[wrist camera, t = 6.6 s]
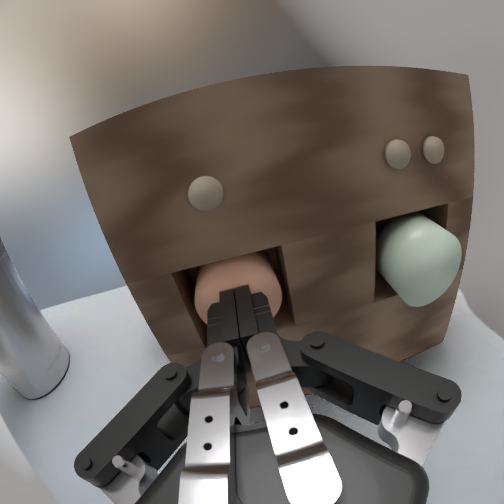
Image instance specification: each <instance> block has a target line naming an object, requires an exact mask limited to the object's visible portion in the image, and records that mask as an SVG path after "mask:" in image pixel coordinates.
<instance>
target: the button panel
mask: <svg viewBox="0 0 504 504" xmlns="http://www.w3.org/2000/svg"><path fill="white" fill-rule="evenodd" d="M70 140H71V144H72V147H73V151H74V154H75V157H76V161H77V164H78V167H79V170H80V173H81V176H82V179H83V182H84V184H85V187H86V190H87V193H88V196H89V198H90V201H91V204H92V206H93V209H94V212H95V214H96V217H97V219H98V222H99V224H100V227H101V229H102V231H103V234H104V236H105V239H106V241H107V243H108V245H109V248H110V250H111V252H112V254H113V256H114V259H115V261H116V263H117V265H118V267H119V270H120V272H121V274H122V276H123V278H124V280H125V282H126V284H127V286H128V288H129V290H130V292H131V294H132V296H133V298H134V300H135V301H136V303H137V305H138V307H139V309H140V311H141V313H142V314H143V316H144V318H145V320H146V322H147V323H148V325H149V327H150V329H151V331H152V332H153V334H154V336H155V337H156V339H157V341H158V343H159V344H160V346H161V348H162V349H163V351H164V352H165V354H166V356H167V357H168V359H169V361H170V362H171V363H180V364H182V365H183V366H184V367H187V366H190V365H192V364H194V363H196V362H198V361H199V360H200V359H201V358H202V353H203V351H204V350H205V349H206V348H207V326H208V325H207V324H206V323H205V322H204V321H203V320H202V319H201V318H200V316H199V315H198V313H197V310H196V307H195V287H196V274H197V266H201V265H205V264H209V263H213V262H217V261H221V260H225V259H229V258H233V257H237V256H241V255H245V254H249V253H253V252H257V251H261V250H265V251H266V252H267V254H268V256H269V258H270V260H271V263H272V266H273V269H274V271H275V274H276V277H277V279H278V282H279V285H280V288H281V291H282V301H281V305H280V308H279V310H278V312H277V314H276V315H275V316H274V318H273V320H274V323H275V327H276V330H277V333H278V335H279V336H280V337H282V338H283V339H285V340H289V341H301V340H302V338H303V337H304V336H305V335H307V334H309V333H311V332H315V331H322V332H326V333H329V334H331V335H334V336H336V337H338V338H341V339H343V340H346V341H348V342H351V343H353V344H355V345H358V346H360V347H363V348H365V349H368V350H370V351H373V352H376V353H378V354H381V355H383V356H386V357H388V358H391V359H394V360H396V361H402V360H404V359H406V358H409V357H411V356H413V355H415V354H417V353H419V352H421V351H424V350H426V349H428V348H430V347H432V346H434V345H436V344H438V343H440V342H442V341H443V339H444V336H445V333H446V330H447V327H448V324H449V321H450V317H451V314H452V310H453V307H454V303H455V300H456V296H457V292H458V288H459V284H460V279H461V275H462V270H463V265H464V260H465V254H466V249H467V243H468V236H469V229H470V222H471V213H472V202H473V188H474V124H473V112H472V101H471V93H470V85H469V78H468V75H465V74H459V73H453V72H445V71H438V70H429V69H420V68H409V67H392V66H341V67H323V68H310V69H300V70H290V71H283V72H275V73H269V74H263V75H257V76H251V77H245V78H240V79H235V80H231V81H226V82H221V83H217V84H213V85H209V86H205V87H201V88H197V89H193V90H190V91H186V92H183V93H180V94H176V95H173V96H170V97H167V98H163V99H160V100H157V101H154V102H151V103H148V104H145V105H143V106H140V107H137V108H135V109H132V110H129V111H127V112H124V113H122V114H119V115H117V116H114V117H112V118H109V119H107V120H105V121H103V122H100V123H98V124H96V125H94V126H91V127H89V128H87V129H85V130H83V131H81V132H79V133H77V134H75V135H73V136H71V137H70ZM411 212H419V213H421V214H422V215H424V216H425V217H427V218H429V219H430V220H432V221H433V222H435V223H436V224H438V225H439V226H441V227H442V228H444V229H445V230H447V231H448V232H450V233H451V234H453V235H454V236H455V237H456V238H457V239H458V240H459V242H460V245H461V251H462V256H461V263H460V267H459V270H458V272H457V274H456V276H455V278H454V280H453V282H452V283H451V285H450V286H449V287H448V289H447V290H446V291H445V292H444V293H443V294H442V295H441V296H440V297H439V298H437V299H436V300H435V301H433V302H431V303H429V304H427V305H424V306H420V307H413V306H410V305H408V304H406V303H405V302H404V301H403V299H402V298H401V297H400V296H399V295H398V294H397V292H396V291H395V290H394V289H393V288H392V287H391V285H390V284H389V283H388V282H387V281H386V280H385V279H384V277H383V276H382V275H381V274H380V273H379V272H378V271H377V269H376V267H375V260H376V240H377V237H378V235H379V234H380V232H381V230H382V229H383V227H384V226H385V225H386V224H387V223H388V222H389V221H390V220H391V219H392V218H393V217H395V216H399V215H403V214H407V213H411ZM250 366H251V365H250ZM246 376H247V384H248V389H249V408H253V407H258V406H261V403H260V399H259V395H258V392H257V388H256V381H255V377H254V373H253V370H252V368H251V372H248V373H246ZM301 389H302V391H303V394H304V395H307V394H310V393H312V392H310V391H309V390H308V389H307V388H306V387H301Z"/></svg>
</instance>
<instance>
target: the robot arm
mask: <svg viewBox="0 0 504 504" xmlns="http://www.w3.org/2000/svg"><path fill="white" fill-rule="evenodd" d="M234 289H235V291H234ZM219 301H220V302H216V303H212V304H211V305H210V307H209V309H208V311H207V319H208V320H207V325H208V326H207V348H206V349H205V350H204V351H203V353H202V358H201V359H200V360H199V361H198V362H196V363H194V364H192V365H190V366H187V367H184V366H183V365H182V364H180V363H170V364H167V365H165V366H163V367H162V368H161V369H160V370H159V371H158V372H157V373H156V374H155V375H154V376H153V377H152V378H151V379H150V381H149V382H148V383H147V384H146V385H145V386H144V387H143V388H142V389H141V390H140V391H139V392H138V393H137V394H136V395H135V396H134V397H133V398H132V399H131V400H130V402H129V403H128V404H127V405H126V406H125V407H124V408H123V409H122V410H121V411H120V412H119V413H118V414H117V415H116V416H115V417H114V418H113V419H112V420H111V421H110V422H109V423H108V424H107V425H106V427H105V428H104V429H103V430H102V431H101V432H100V433H99V434H98V435H97V436H96V437H95V438H94V439H93V440H92V441H91V442H90V443H89V444H88V445H87V446H86V447H85V448H84V449H83V450H82V451H81V452H80V453H79V454H78V455H77V457H76V459H75V462H74V468H75V471H76V473H77V475H78V476H79V477H81V478H83V479H84V480H86V481H88V482H90V483H91V484H92V485H94V486H96V487H98V488H100V489H101V490H102V491H103V492H104V493H105V494H106V495H107V496H108V497H109V498H110V500H111V501H112V502H113V503H114V504H426V501H427V496H428V492H429V480H428V476H427V474H426V472H425V470H424V469H423V467H422V465H423V463H424V461H425V459H426V457H427V456H428V454H429V452H430V450H431V448H432V446H433V444H434V442H435V440H436V438H437V436H438V434H439V432H440V430H441V428H442V427H443V426H444V425H445V423H446V422H447V420H448V419H449V418H450V416H451V415H452V414H453V412H454V411H455V409H456V408H457V406H458V405H459V403H460V401H461V390H460V388H459V386H458V385H457V384H456V383H455V382H453V381H451V380H448V379H446V378H443V377H440V376H437V375H434V374H431V373H429V372H426V371H423V370H420V369H418V368H415V367H412V366H409V365H407V364H404V363H401V362H399V361H396V360H394V359H391V358H388V357H386V356H383V355H381V354H378V353H376V352H373V351H370V350H368V349H365V348H363V347H360V346H358V345H355V344H353V343H351V342H348V341H346V340H343V339H341V338H338V337H336V336H334V335H331V334H329V333H326V332H322V331H315V332H311V333H309V334H307V335H305V336H304V337H303V338H302V340H301V341H289V340H285V339H283V338H282V337H280V336H279V335H278V333H277V330H276V327H275V323H274V320H273V316H272V312H271V309H270V305H269V302H268V298H267V296H266V295H264V294H263V293H262V292H258V293H254V294H251V291H250V288H249V284H248V285H244V286H240V287H236V288H232V289H228V290H224V291H220V292H219ZM68 364H69V353H68V351H67V349H66V348H65V347H64V345H63V344H62V343H61V341H60V340H59V338H58V337H57V336H56V334H55V333H54V331H53V330H52V329H51V327H50V325H49V324H48V322H47V321H46V319H45V318H44V316H43V315H42V313H41V312H40V310H39V309H38V307H37V306H36V304H35V302H34V301H33V299H32V298H31V296H30V294H29V293H28V291H27V289H26V287H25V285H24V284H23V282H22V280H21V279H20V276H19V275H18V273H17V271H16V269H15V267H14V265H13V263H12V261H11V259H10V257H9V255H8V253H7V251H6V250H5V247H4V245H3V242H2V240H1V238H0V373H1V374H2V375H3V376H4V377H5V378H6V379H7V381H8V382H9V383H10V384H11V385H12V386H13V387H14V388H15V389H17V390H18V391H19V392H20V394H21V395H23V396H24V397H25V398H28V399H36V398H39V397H42V396H44V395H45V394H47V393H49V392H50V391H51V390H52V389H53V388H54V387H55V386H56V385H57V384H58V383H59V382H60V380H61V379H62V377H63V376H64V374H65V372H66V370H67V367H68ZM250 365H251V366H250ZM251 368H252V370H253V373H254V377H255V381H256V388H257V392H258V395H259V399H260V403H261V406H262V410H263V413H264V417H265V420H263V421H260V422H258V423H256V424H253V425H251V422H250V408H249V389H248V384H247V376H246V373H248V372H251ZM301 387H306V388H307V389H308V390H309V391H310V392H312V393H314V394H316V395H318V396H320V397H321V398H323V399H325V400H327V401H329V402H331V403H333V404H335V405H337V406H339V407H341V408H343V409H345V410H347V411H349V412H351V413H353V414H355V415H357V416H359V417H361V418H363V419H365V420H368V421H370V422H372V423H374V424H376V425H378V435H379V437H380V439H381V440H382V441H384V442H385V443H387V444H388V445H389V446H390V447H391V449H392V450H391V449H389V448H387V447H385V446H383V445H381V444H379V443H377V442H375V441H373V440H371V439H369V438H367V437H365V436H363V435H361V434H359V433H358V432H356V431H354V430H352V429H350V428H348V427H347V426H345V425H343V424H341V423H340V422H338V421H336V420H334V419H332V418H330V417H327V416H323V415H318V414H312V413H311V411H310V408H309V406H308V404H307V401H306V399H305V396H304V394H303V391H302V389H301ZM173 404H174V405H173ZM166 412H167V413H166ZM186 437H187V442H186V443H185V444H184V445H183V446H182V447H181V448H180V449H179V450H178V451H177V453H176V454H175V455H174V457H173V458H172V459H171V460H170V462H169V463H168V464H167V465H166V467H165V468H164V469H163V470H162V471H161V473H160V474H159V475H158V473H157V471H158V470H159V469H160V468H161V466H162V465H163V464H164V463H165V462H166V461H167V459H168V458H169V457H170V456H171V455H172V454H173V452H174V451H175V450H176V449H177V448H178V447H179V445H180V444H181V443H182V442H183V441H184V439H185V438H186Z"/></svg>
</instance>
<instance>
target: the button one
mask: <svg viewBox="0 0 504 504" xmlns="http://www.w3.org/2000/svg"><path fill="white" fill-rule="evenodd" d="M248 284H249V288H250V291H251V294H254V293H258V292H262V293H263V294H264V295H266V296H267V298H268V302H269V305H270V309H271V312H272V316H273V318H274V316H275V315H276V314H277V312H278V310H279V308H280V305H281V301H282V291H281V288H280V285H279V282H278V279H277V277H276V274H275V271H274V269H273V266H272V263H271V260H270V258H269V256H268V254H267V252H266V251H265V250H261V251H257V252H253V253H249V254H245V255H241V256H237V257H233V258H229V259H225V260H221V261H217V262H213V263H209V264H205V265H201V266H197V274H196V287H195V307H196V310H197V313H198V315H199V316H200V318H201V319H202V320H203V321H204V322H205V323H206V324H207V320H208V319H207V311H208V309H209V307H210V305H211V304H212V303H216V302H220V301H219V292H220V291H224V290H228V289H232V288H236V287H240V286H244V285H248ZM234 291H235V289H234Z"/></svg>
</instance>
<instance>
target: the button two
mask: <svg viewBox="0 0 504 504" xmlns="http://www.w3.org/2000/svg"><path fill="white" fill-rule="evenodd" d="M461 256H462V251H461V245H460V242H459V240H458V239H457V238H456V237H455V236H454V235H453V234H451V233H450V232H448V231H447V230H445V229H444V228H442V227H441V226H439V225H438V224H436V223H435V222H433V221H432V220H430V219H429V218H427V217H425V216H424V215H422V214H421V213H419V212H411V213H407V214H403V215H399V216H395V217H393V218H392V219H391V220H390V221H389V222H388V223H387V224H386V225H385V226H384V227H383V229H382V230H381V232H380V234H379V235H378V237H377V240H376V260H375V267H376V269H377V271H378V272H379V273H380V274H381V275H382V276H383V277H384V279H385V280H386V281H387V282H388V283H389V284H390V285H391V287H392V288H393V289H394V290H395V291H396V292H397V294H398V295H399V296H400V297H401V298H402V299H403V301H404V302H405V303H406V304H408V305H410V306H413V307H420V306H424V305H427V304H429V303H431V302H433V301H435V300H436V299H437V298H439V297H440V296H441V295H442V294H443V293H444V292H445V291H446V290H447V289H448V287H449V286H450V285H451V283H452V282H453V280H454V278H455V276H456V274H457V272H458V270H459V267H460V263H461Z"/></svg>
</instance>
